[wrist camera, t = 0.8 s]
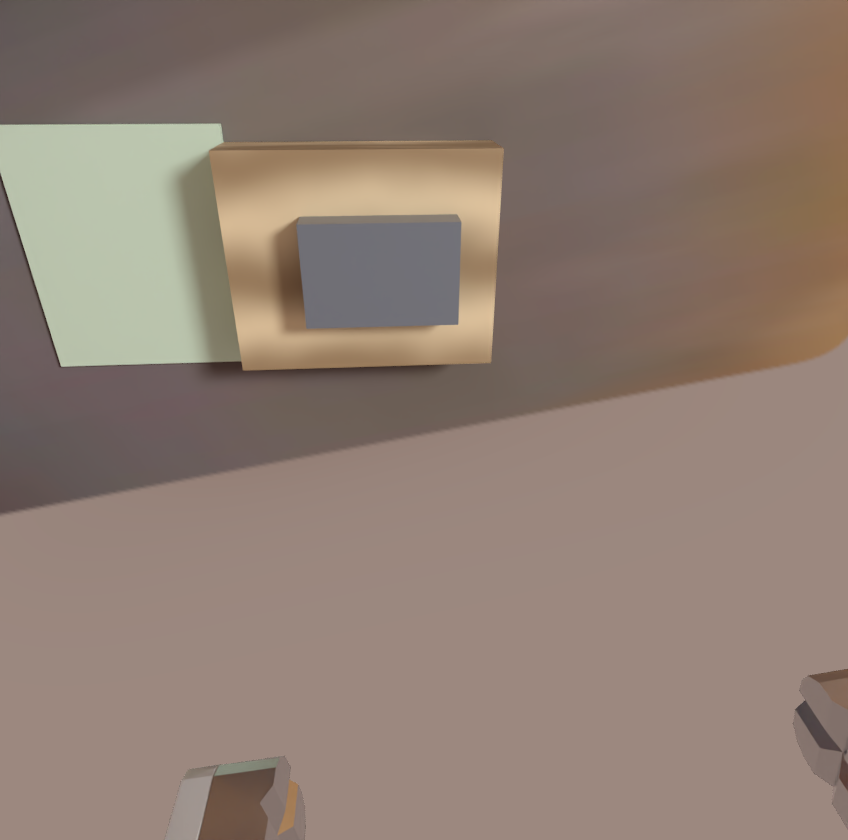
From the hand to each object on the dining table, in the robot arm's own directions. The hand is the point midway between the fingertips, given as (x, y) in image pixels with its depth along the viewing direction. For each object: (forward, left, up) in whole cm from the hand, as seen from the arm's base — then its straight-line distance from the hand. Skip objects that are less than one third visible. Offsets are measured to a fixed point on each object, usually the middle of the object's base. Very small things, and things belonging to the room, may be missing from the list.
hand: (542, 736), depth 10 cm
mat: (+1, -18, -35) cm, 39 cm away
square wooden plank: (+1, -3, -35) cm, 35 cm away
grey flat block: (+1, -2, -31) cm, 31 cm away
